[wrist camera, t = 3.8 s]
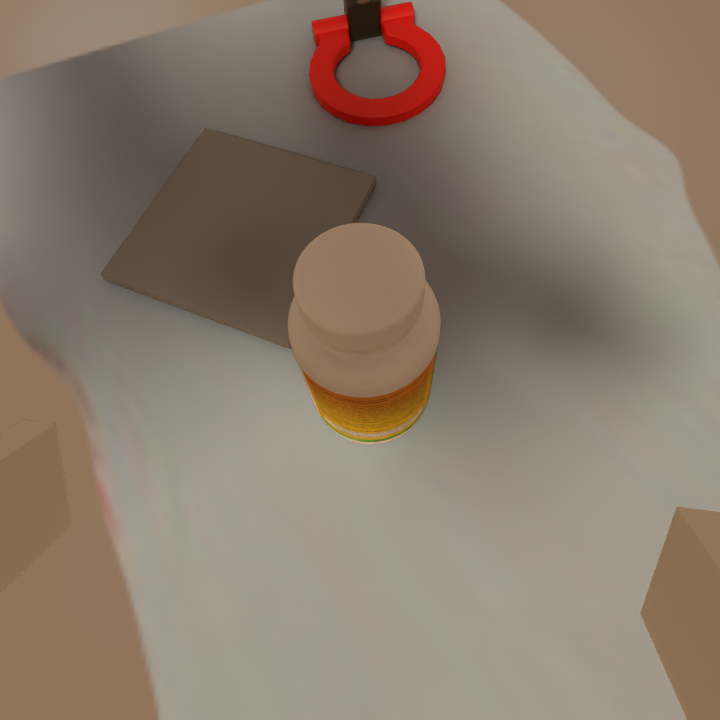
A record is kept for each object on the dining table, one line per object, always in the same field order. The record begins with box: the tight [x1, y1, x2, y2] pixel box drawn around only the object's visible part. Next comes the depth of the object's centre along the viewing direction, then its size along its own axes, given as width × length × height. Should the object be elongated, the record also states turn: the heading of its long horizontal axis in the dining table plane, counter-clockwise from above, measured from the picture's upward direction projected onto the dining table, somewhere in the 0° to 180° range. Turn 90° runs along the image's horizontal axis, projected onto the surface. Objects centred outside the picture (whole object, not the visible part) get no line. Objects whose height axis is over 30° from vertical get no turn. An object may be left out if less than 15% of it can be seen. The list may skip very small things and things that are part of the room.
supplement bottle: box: [288, 223, 441, 444], centre depth 20 cm, size 5×5×10 cm
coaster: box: [101, 128, 376, 349], centre depth 28 cm, size 11×11×1 cm
